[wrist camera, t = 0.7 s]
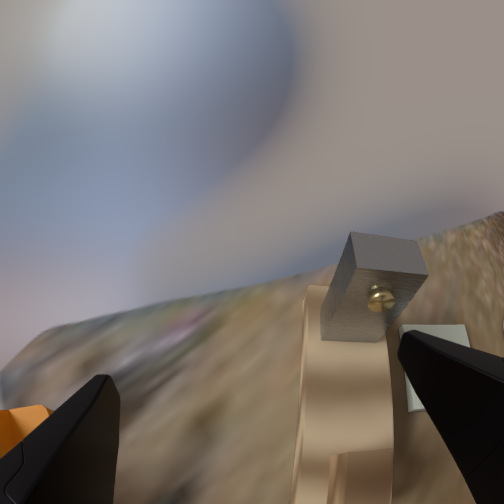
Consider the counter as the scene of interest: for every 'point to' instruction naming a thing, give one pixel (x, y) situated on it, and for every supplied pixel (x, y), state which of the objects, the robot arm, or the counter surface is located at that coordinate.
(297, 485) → the body
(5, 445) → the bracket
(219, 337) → the counter surface
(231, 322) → the counter surface
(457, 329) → the sage mat
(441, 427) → the robot arm
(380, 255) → the lever cap
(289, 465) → the counter surface
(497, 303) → the counter surface
